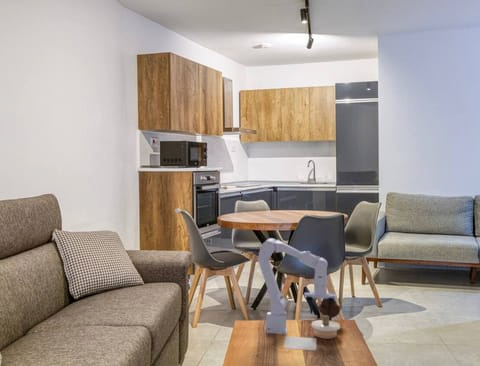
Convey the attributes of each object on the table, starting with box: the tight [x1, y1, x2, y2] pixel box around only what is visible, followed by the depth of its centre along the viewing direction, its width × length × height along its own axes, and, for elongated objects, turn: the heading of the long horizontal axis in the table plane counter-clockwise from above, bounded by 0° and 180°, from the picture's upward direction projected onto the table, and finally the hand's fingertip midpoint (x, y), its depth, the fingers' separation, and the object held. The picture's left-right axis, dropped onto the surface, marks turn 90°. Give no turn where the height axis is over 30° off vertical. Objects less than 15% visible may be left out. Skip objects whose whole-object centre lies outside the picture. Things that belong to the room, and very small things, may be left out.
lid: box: [311, 314, 341, 331], centre depth 227 cm, size 13×13×5 cm
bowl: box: [314, 329, 338, 340], centre depth 228 cm, size 10×10×5 cm
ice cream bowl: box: [318, 298, 342, 321], centre depth 243 cm, size 11×11×15 cm
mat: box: [283, 335, 318, 351], centre depth 219 cm, size 14×14×1 cm
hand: (319, 313), depth 229 cm, fingers open, 7 cm apart
